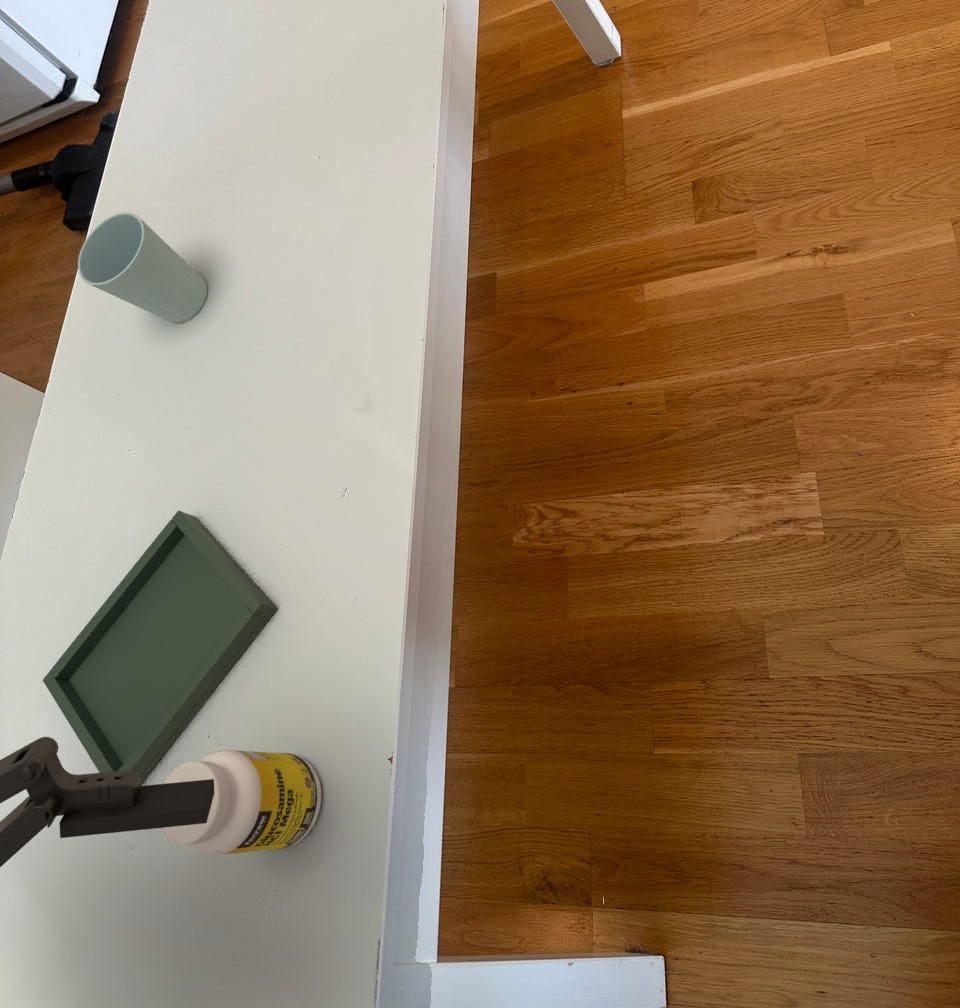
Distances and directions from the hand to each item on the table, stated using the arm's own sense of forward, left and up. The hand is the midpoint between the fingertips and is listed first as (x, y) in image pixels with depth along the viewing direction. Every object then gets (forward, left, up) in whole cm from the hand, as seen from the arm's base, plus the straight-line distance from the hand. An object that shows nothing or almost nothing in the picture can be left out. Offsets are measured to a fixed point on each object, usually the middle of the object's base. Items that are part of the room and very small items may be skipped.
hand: (215, 936), depth 43 cm
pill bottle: (+10, +4, -18) cm, 21 cm away
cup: (+57, -9, -18) cm, 60 cm away
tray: (+27, +8, -18) cm, 33 cm away
